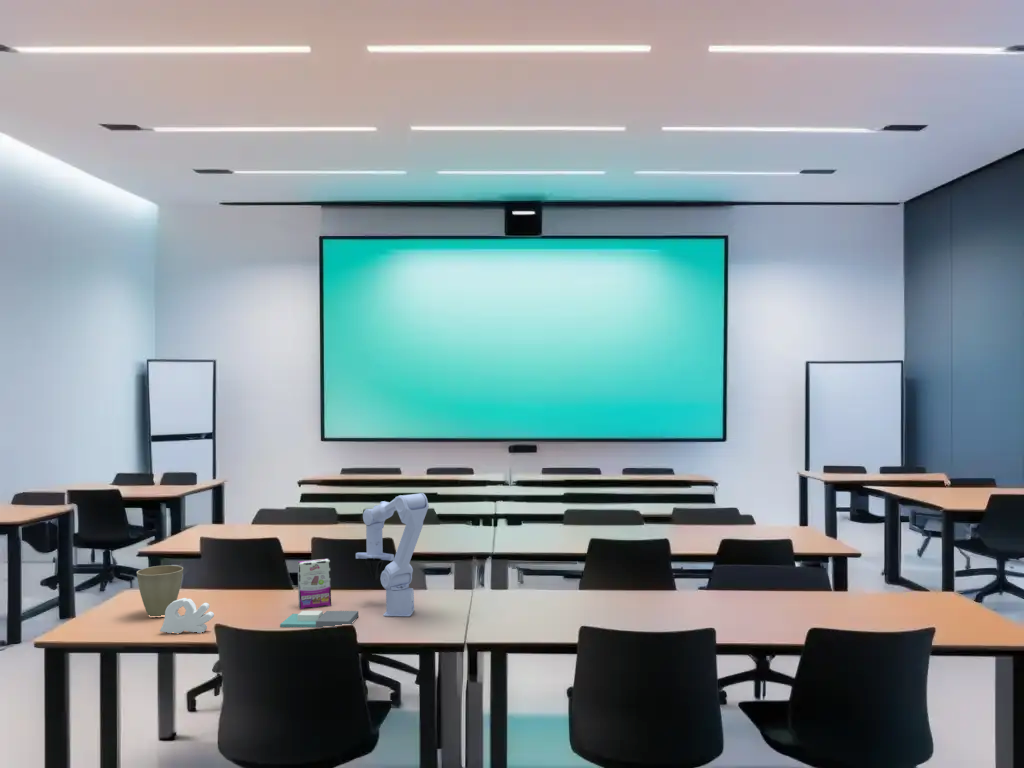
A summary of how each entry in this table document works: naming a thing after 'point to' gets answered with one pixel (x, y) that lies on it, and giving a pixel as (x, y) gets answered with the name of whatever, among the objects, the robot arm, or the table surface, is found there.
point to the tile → (309, 615)
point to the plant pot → (159, 587)
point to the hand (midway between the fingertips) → (375, 579)
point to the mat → (297, 622)
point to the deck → (336, 618)
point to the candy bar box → (314, 583)
